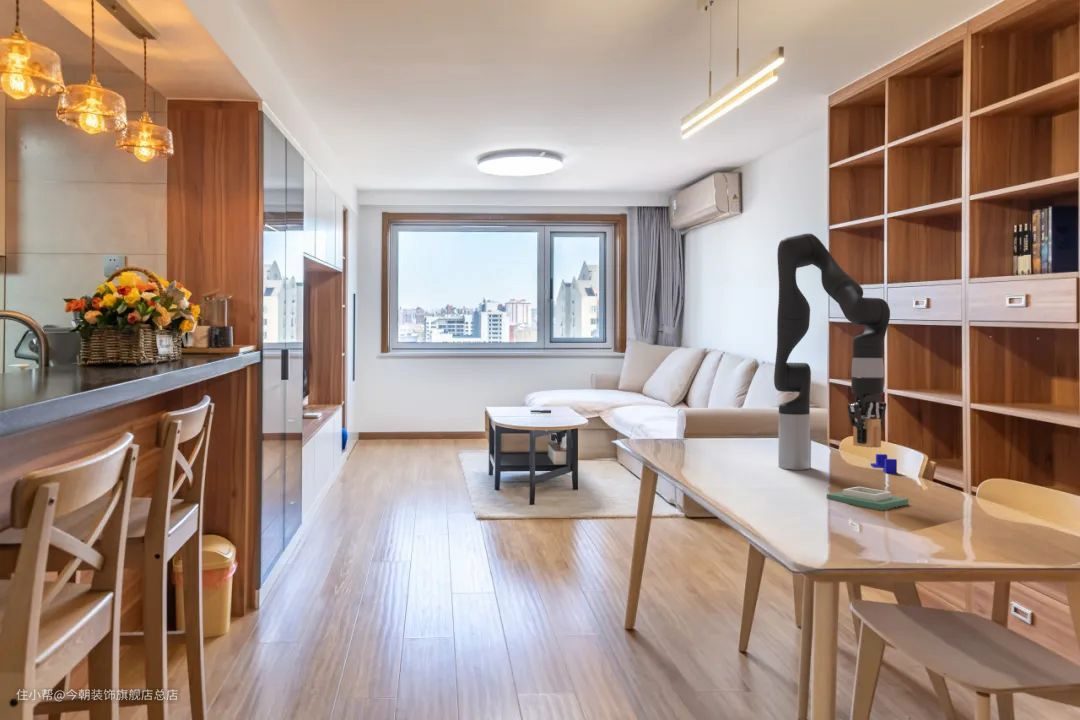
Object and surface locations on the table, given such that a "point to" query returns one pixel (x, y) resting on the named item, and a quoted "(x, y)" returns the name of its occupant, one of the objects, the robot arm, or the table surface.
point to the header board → (868, 498)
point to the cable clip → (885, 464)
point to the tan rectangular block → (870, 434)
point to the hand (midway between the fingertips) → (866, 442)
